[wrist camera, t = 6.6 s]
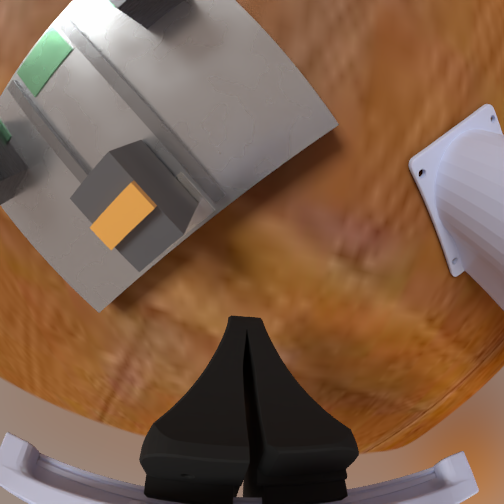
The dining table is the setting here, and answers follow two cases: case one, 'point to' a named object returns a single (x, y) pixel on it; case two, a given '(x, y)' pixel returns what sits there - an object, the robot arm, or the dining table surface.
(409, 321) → the dining table surface
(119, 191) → the breaker
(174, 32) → the panel
